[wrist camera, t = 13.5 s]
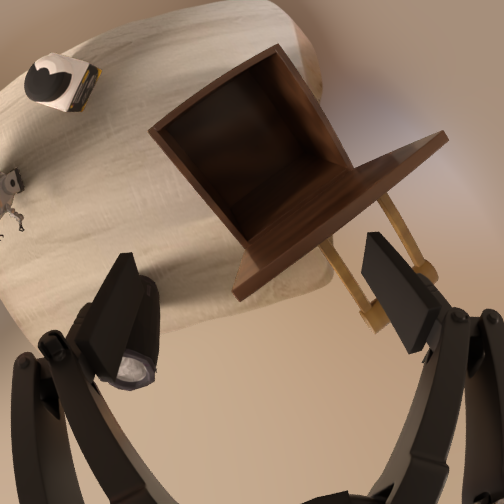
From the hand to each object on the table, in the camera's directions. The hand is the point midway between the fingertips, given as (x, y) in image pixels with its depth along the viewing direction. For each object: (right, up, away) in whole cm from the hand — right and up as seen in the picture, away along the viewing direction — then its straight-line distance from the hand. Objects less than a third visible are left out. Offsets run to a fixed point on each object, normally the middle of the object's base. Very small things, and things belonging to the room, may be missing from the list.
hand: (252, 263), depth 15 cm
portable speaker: (-21, -7, +34) cm, 40 cm away
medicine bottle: (-27, +26, +16) cm, 40 cm away
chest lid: (+6, +5, +8) cm, 11 cm away
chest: (-2, +18, +26) cm, 31 cm away
